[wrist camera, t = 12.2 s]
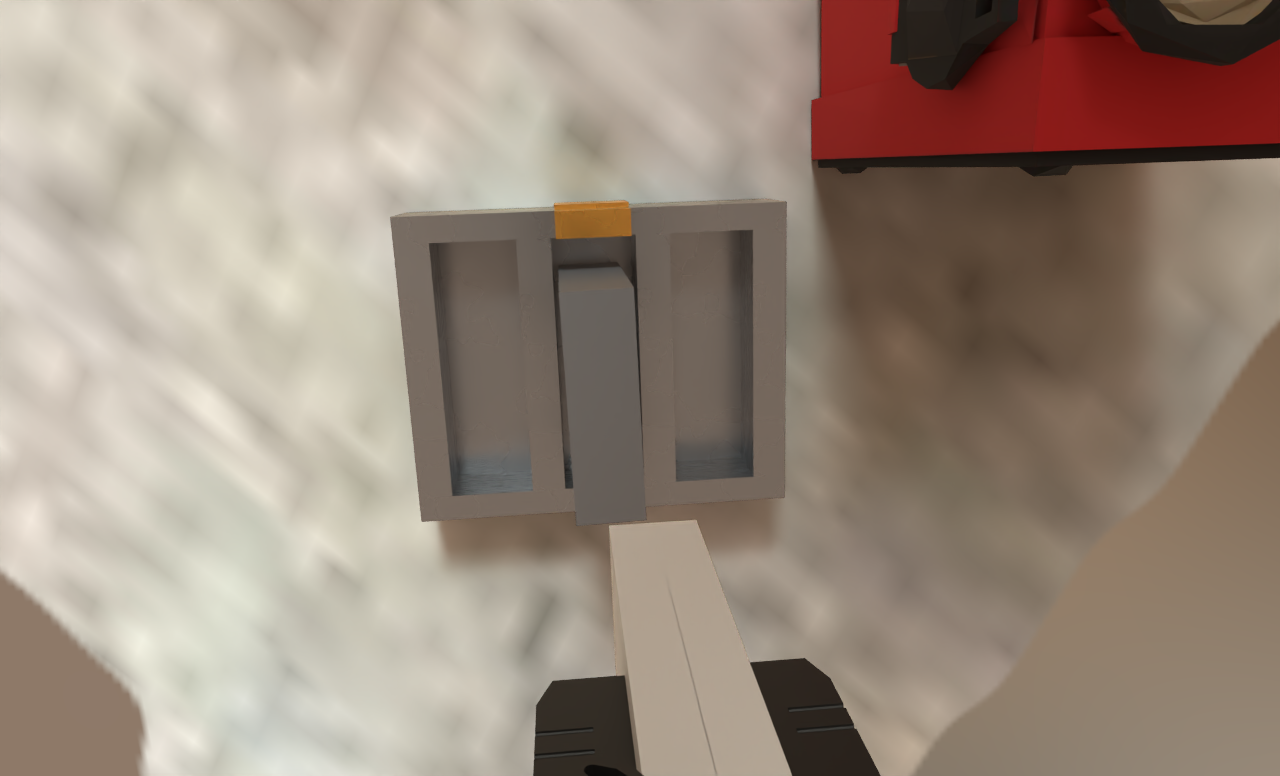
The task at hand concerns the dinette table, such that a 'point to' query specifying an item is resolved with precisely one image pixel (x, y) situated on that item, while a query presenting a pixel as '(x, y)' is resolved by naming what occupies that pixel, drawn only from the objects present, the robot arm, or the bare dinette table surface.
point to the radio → (1046, 83)
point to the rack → (533, 350)
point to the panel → (602, 392)
